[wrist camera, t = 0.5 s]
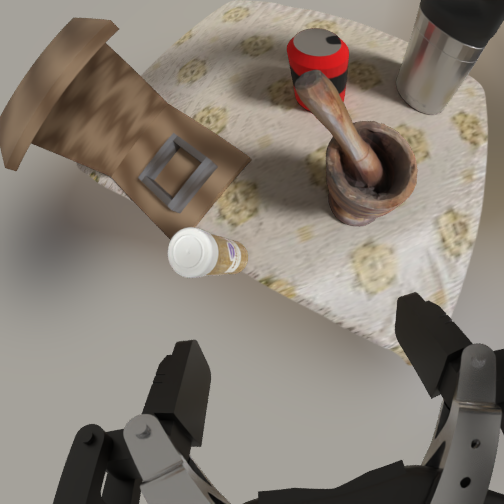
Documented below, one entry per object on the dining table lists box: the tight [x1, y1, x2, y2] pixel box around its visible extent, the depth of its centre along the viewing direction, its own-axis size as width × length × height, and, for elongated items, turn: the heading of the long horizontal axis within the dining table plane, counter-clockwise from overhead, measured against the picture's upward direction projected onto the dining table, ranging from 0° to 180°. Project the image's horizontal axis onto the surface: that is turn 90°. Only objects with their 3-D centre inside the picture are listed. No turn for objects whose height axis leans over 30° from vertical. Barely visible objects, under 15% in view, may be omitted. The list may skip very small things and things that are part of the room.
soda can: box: [287, 28, 349, 111], centre depth 29 cm, size 8×8×12 cm
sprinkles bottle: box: [168, 227, 248, 278], centre depth 30 cm, size 5×5×14 cm
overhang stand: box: [0, 18, 251, 240], centre depth 27 cm, size 16×21×26 cm
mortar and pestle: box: [295, 70, 418, 226], centre depth 24 cm, size 12×9×20 cm
